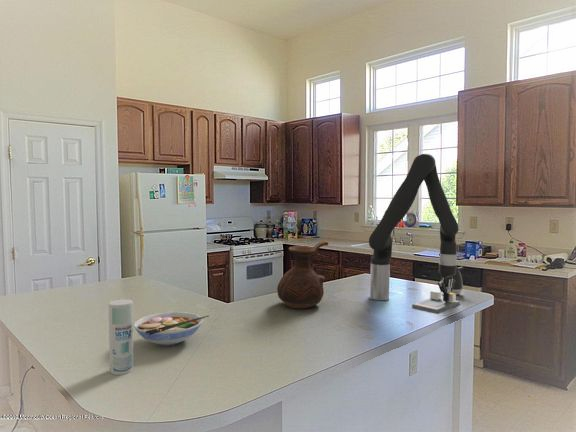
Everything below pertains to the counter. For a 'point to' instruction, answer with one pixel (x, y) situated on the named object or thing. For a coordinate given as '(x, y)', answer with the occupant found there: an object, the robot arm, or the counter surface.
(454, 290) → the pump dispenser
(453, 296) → the block
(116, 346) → the spray can
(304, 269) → the jug
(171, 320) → the ramen bowl
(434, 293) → the on breaker
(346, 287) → the counter surface
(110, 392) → the counter surface
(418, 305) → the switch panel
